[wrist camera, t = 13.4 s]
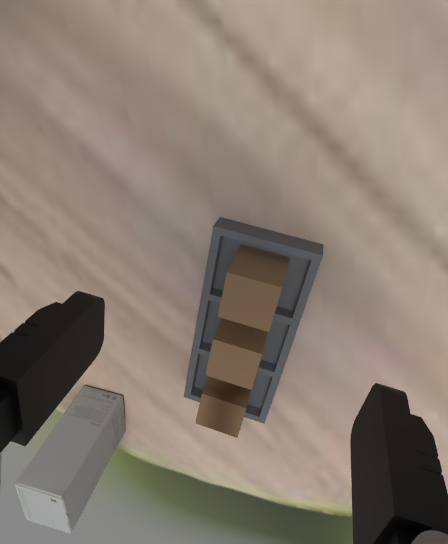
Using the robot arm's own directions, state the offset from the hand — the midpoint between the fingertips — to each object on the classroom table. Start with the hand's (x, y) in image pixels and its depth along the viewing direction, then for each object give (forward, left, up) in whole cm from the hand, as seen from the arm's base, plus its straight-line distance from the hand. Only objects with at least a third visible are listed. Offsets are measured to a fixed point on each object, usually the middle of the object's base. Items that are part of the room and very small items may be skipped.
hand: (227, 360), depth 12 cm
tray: (-1, -20, -28) cm, 35 cm away
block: (-1, -28, -27) cm, 39 cm away
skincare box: (-18, -43, -28) cm, 55 cm away
